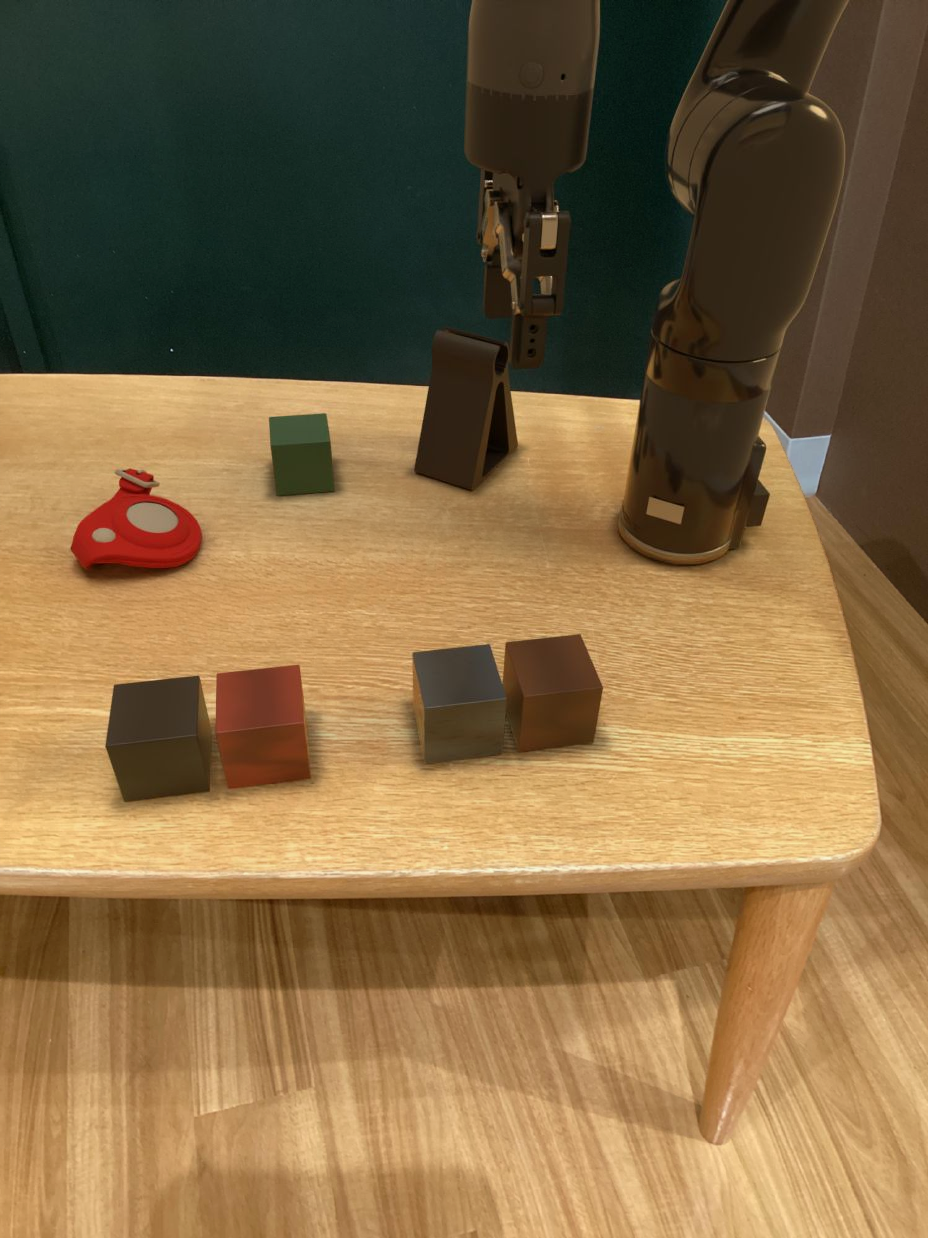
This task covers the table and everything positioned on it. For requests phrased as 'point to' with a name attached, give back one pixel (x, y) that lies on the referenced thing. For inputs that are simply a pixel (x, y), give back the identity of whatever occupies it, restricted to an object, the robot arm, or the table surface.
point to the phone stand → (466, 409)
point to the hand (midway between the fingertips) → (511, 340)
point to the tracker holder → (137, 528)
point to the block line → (277, 728)
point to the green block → (301, 454)
